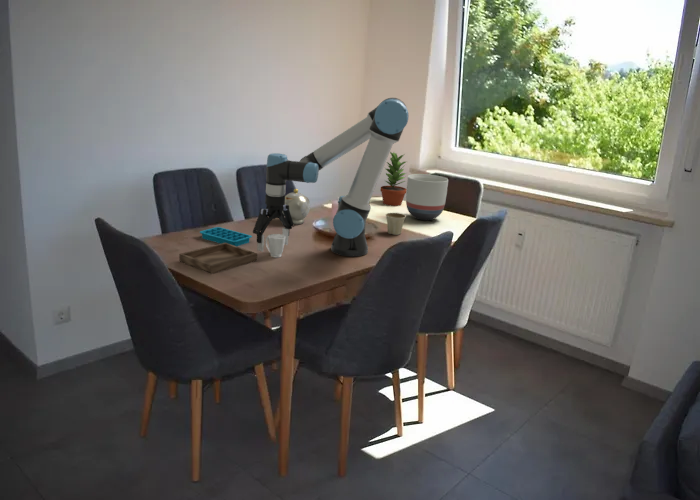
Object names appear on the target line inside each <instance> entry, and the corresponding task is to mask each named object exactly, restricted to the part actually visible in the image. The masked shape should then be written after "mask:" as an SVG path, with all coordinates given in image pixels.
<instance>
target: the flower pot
mask: <svg viewBox="0 0 700 500" xmlns="http://www.w3.org/2000/svg"><path fill="white" fill-rule="evenodd" d="M385 217H386V225H387V233H388V234H389V235H394V236H397V235H398V236H399V235H401V234H402V230H403V228H404V227H403V225H404V223H405V219H406V217H407V215H406V214H403V213H400V212H387V213H386V214H385Z"/></svg>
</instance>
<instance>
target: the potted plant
mask: <svg viewBox="0 0 700 500" xmlns="http://www.w3.org/2000/svg"><path fill="white" fill-rule="evenodd" d="M389 154H390V156H391V157H389V160H390V162H391V163H390V162H388V161H386V163H387V166H388V168H386V167H384V168H385V170H386V171H387V172H388V173H387V172H385V175H386V176H387V177H388V178H387V180H385V183H387V184H388V185H382V186H380V192H381V197H382V203H383V204H384V205H385V204H386V206H390V205H391V206H390V207H392V206H393V207H399V206H401V205H402V203H403V200H404V198H405V195H406V192H407V187H406V188H405V187H403V186H399V185H400V184H403V183H404V182H406V180H404V181H401V180H403V179H405V178H406V176H405V175H406V174H407V172H406V173H405V172H403V171H404V167H405V165H404V164H405V163H407V161H402V162H400V160H401V159H402V158H403V157H404V156H405V154H402V155H400V156H398V153H396V152H395V151H393V152H392V151H390V152H389ZM401 166H402V167H401ZM399 181H400V182H399ZM397 185H398V186H397ZM398 205H399V206H398Z"/></svg>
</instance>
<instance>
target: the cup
mask: <svg viewBox="0 0 700 500" xmlns="http://www.w3.org/2000/svg"><path fill="white" fill-rule="evenodd" d="M285 238H286V237H285V236H284V235H282V233H281V234H280V233H271V234H268V235H267V236H266V237H265V240H264V245H265V247H266V249H267V251H268V253H269V254H270V257H271V258H276V259H277V258H281V257H283V255H282V254H283V251H284V249H285V248H284V247H285V244H284V243H285Z"/></svg>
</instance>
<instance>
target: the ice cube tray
mask: <svg viewBox="0 0 700 500" xmlns="http://www.w3.org/2000/svg"><path fill="white" fill-rule="evenodd" d="M199 234H201V238H202V239H203V240H206V241H209V242H213V243H217V244H222V243H228V244H231V245H234V246H237V247H239V246H243V245H246V244H249V243H250V239H251V238H253V236H252V235H250V234H246V233H242V232H239V231H236V230H232V229H228V228H225V227H220V226H215V227H212V228H207V229H203V230H200V231H199Z"/></svg>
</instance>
